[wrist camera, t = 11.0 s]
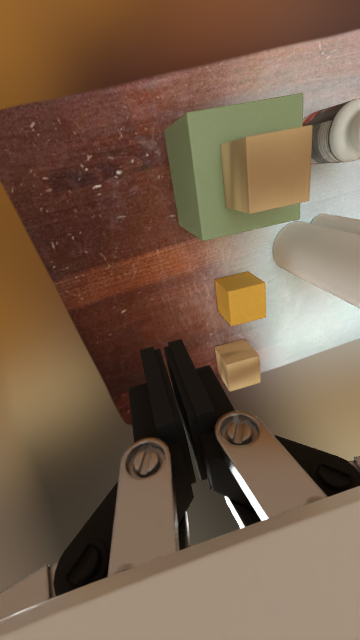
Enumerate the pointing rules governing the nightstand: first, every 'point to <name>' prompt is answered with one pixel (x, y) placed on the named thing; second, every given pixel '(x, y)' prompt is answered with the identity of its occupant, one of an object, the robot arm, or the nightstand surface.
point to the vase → (323, 254)
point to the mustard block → (241, 298)
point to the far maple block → (238, 364)
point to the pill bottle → (335, 133)
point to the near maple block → (267, 170)
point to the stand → (206, 163)
